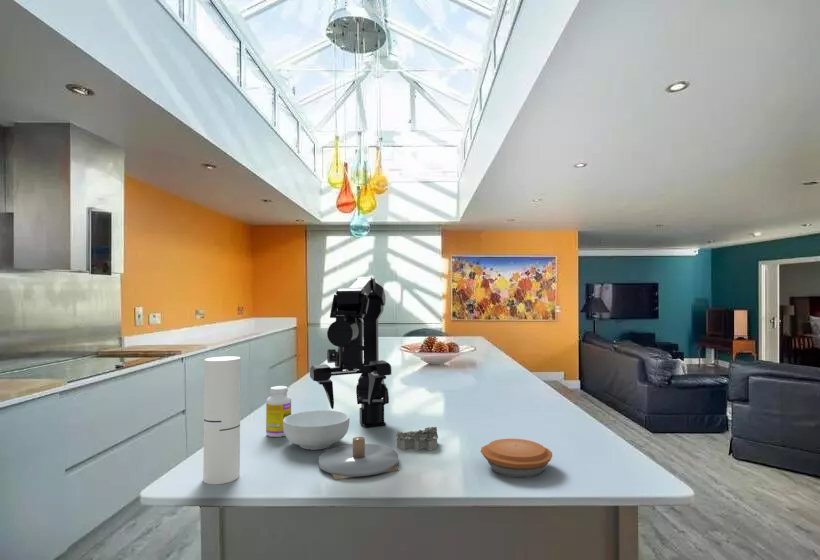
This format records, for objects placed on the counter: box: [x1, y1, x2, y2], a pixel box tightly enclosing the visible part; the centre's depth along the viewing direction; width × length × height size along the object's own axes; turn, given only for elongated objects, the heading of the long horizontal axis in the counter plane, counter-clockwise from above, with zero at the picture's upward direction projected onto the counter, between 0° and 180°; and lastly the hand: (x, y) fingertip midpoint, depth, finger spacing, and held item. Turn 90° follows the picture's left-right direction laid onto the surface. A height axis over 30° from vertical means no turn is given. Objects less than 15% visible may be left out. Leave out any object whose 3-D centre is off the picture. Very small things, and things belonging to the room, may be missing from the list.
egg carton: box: [396, 426, 439, 451], centre depth 118 cm, size 11×8×4 cm
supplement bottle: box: [265, 385, 292, 438], centre depth 128 cm, size 7×7×13 cm
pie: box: [479, 438, 553, 478], centre depth 103 cm, size 16×16×5 cm
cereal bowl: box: [283, 409, 350, 451], centre depth 119 cm, size 17×17×7 cm
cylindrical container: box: [202, 355, 241, 485], centre depth 98 cm, size 7×7×25 cm
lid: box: [318, 436, 399, 477], centre depth 106 cm, size 18×18×5 cm
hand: (351, 406), depth 111 cm, fingers open, 9 cm apart
